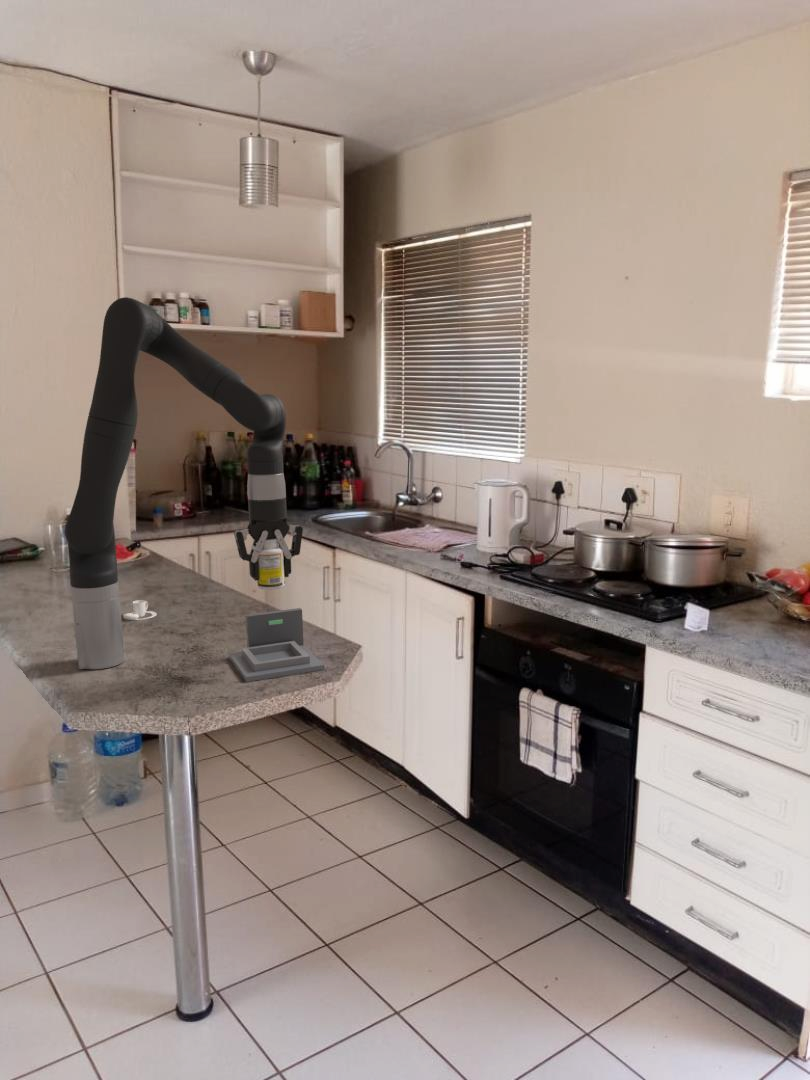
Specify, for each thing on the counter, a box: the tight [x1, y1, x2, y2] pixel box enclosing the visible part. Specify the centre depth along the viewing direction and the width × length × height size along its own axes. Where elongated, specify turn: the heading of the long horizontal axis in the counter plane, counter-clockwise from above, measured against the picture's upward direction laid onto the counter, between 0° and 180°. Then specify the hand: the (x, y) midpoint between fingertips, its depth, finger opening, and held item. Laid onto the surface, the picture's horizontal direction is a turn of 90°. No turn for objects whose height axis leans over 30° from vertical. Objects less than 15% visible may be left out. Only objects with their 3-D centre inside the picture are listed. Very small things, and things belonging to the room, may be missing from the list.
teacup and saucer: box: [122, 599, 157, 621], centre depth 212 cm, size 9×8×4 cm
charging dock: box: [228, 607, 325, 683], centre depth 174 cm, size 16×16×9 cm
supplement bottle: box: [256, 539, 286, 591], centre depth 171 cm, size 6×6×10 cm
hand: (271, 577), depth 171 cm, fingers closed on supplement bottle, 5 cm apart
